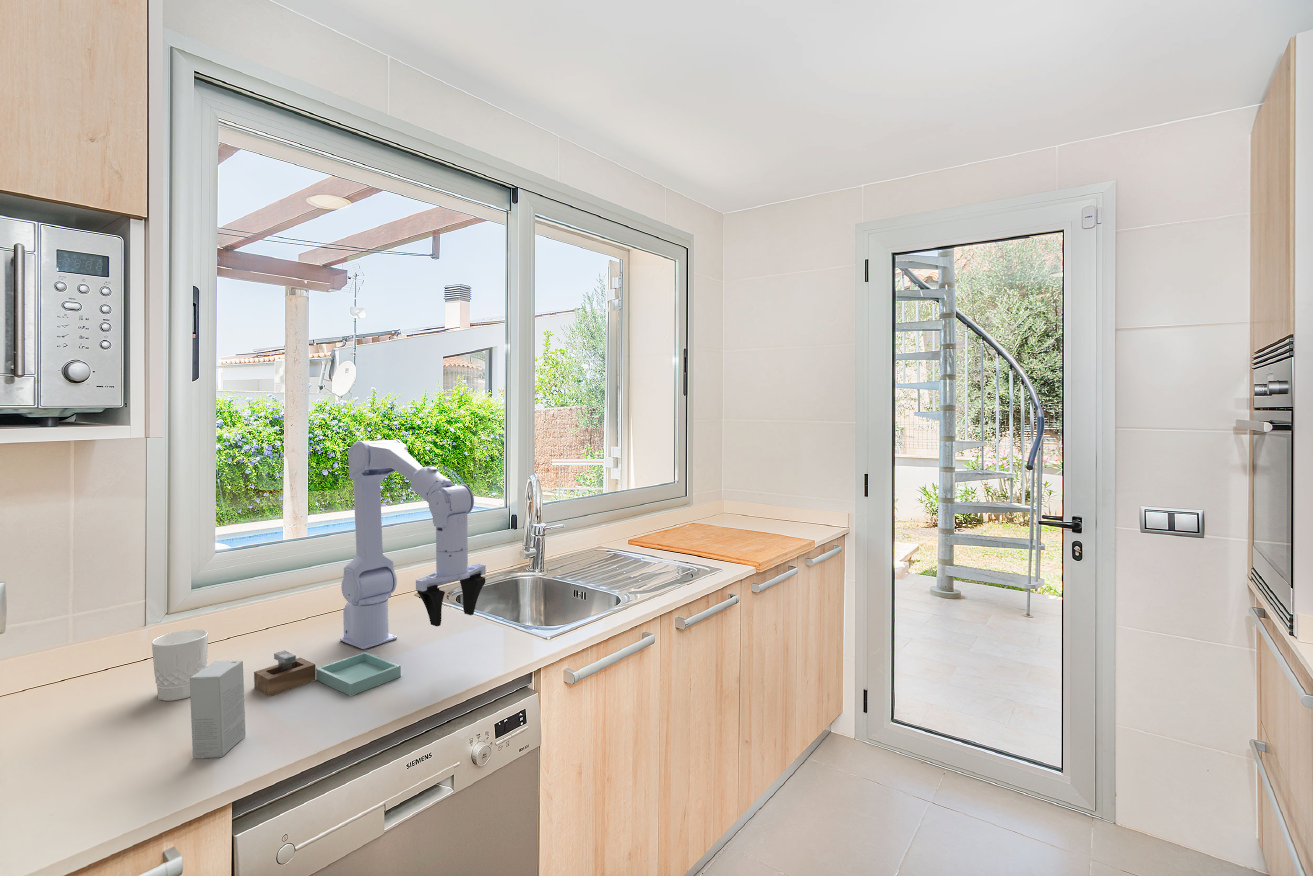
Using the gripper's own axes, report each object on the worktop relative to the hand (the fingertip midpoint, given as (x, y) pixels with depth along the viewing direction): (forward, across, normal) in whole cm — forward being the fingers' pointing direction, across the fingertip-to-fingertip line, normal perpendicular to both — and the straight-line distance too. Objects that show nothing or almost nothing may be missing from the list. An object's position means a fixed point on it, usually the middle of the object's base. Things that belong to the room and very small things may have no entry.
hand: (452, 619), depth 119 cm
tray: (+10, -12, +12) cm, 20 cm away
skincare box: (+10, -37, +6) cm, 39 cm away
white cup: (+10, -33, +32) cm, 47 cm away
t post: (+10, -21, +20) cm, 31 cm away
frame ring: (+10, -21, +20) cm, 31 cm away
